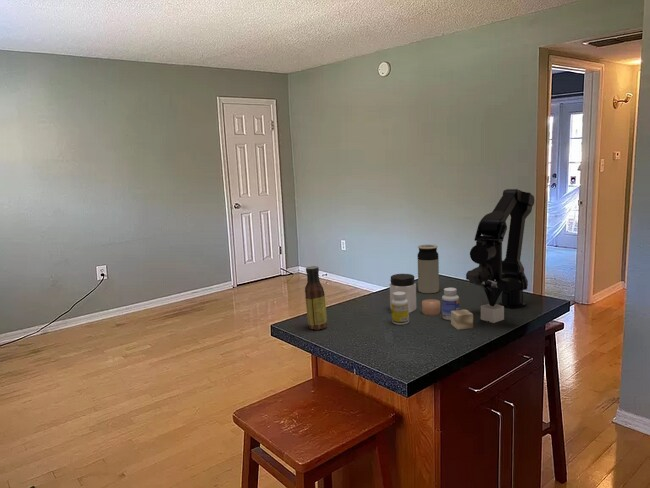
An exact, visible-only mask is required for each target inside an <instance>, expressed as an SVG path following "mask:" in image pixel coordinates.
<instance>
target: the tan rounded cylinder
mask: <svg viewBox="0 0 650 488" xmlns="http://www.w3.org/2000/svg"><path fill="white" fill-rule="evenodd" d="M421 307H422V308H421V310H422V311H421V313H422V314H423V315H424V316H431V317H433V316H438V315H440V314H441V301H440V300H439V299H435V298H430V299H429V298H426V299H423V300H422V301H421Z"/></svg>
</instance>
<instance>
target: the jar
mask: <svg viewBox="0 0 650 488" xmlns="http://www.w3.org/2000/svg"><path fill="white" fill-rule="evenodd" d="M394 292H405V293H406V298H405V299H407V300H408V307H409V314H411V313H413V312H414V311H417V284H416V282H415V275H414V274H411V273H410V274H409V273H397V274H396V273H395V274H392V275H391V276H390V284H389V303H390V304H389V305H390V311H392V305H391V302H392V300H393V299H394V298H393V293H394Z"/></svg>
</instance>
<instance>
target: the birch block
mask: <svg viewBox="0 0 650 488" xmlns="http://www.w3.org/2000/svg"><path fill="white" fill-rule="evenodd" d="M450 325H451V326H452V327H454V328H455V329H456V330H466V329H473V328H474V314H473V313H472V312H470V310H467V309H459V310H455V311H451V320H450Z"/></svg>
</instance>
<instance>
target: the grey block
mask: <svg viewBox="0 0 650 488" xmlns="http://www.w3.org/2000/svg"><path fill="white" fill-rule="evenodd" d="M480 320H482V321H485V322H488V321H489V322H488V323H492V324H495V323H497V322H500V321H503V320H505V306H504V305H501V304H498V303H496V304H495V305H494V306H490V304H489V303H487V304H483V305H480Z"/></svg>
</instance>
